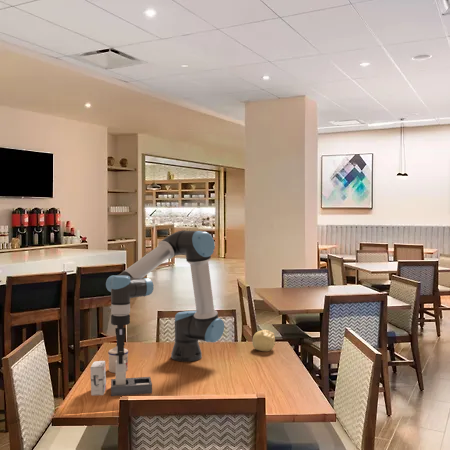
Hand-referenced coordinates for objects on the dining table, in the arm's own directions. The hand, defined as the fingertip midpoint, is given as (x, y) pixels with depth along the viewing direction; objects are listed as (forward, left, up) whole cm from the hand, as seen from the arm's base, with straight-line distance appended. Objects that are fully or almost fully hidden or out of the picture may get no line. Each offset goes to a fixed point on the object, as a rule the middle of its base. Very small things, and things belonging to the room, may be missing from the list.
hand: (120, 366), depth 213 cm
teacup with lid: (0, -31, -11) cm, 33 cm away
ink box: (+9, -2, -11) cm, 14 cm away
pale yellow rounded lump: (-75, -50, -11) cm, 91 cm away
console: (-4, 0, -11) cm, 11 cm away
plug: (0, 0, -10) cm, 10 cm away
